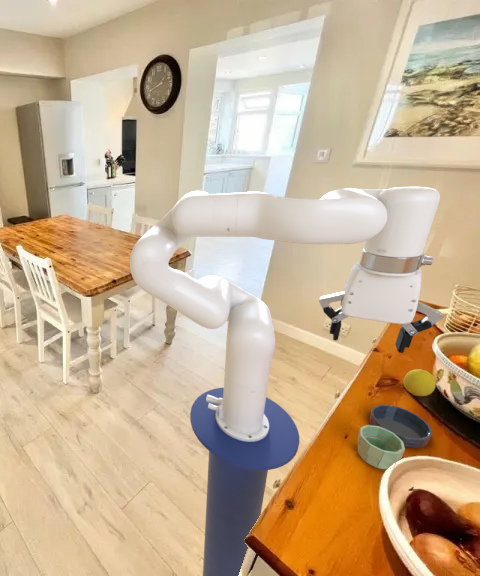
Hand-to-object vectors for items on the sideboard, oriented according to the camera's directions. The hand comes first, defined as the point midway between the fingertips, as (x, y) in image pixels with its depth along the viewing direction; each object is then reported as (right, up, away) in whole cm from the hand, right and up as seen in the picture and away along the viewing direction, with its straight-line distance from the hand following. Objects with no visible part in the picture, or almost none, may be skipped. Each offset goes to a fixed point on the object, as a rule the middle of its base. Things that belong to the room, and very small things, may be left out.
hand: (365, 342), depth 60 cm
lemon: (+30, -17, +19) cm, 39 cm away
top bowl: (+7, -26, +5) cm, 27 cm away
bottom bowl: (+17, -22, +11) cm, 30 cm away
